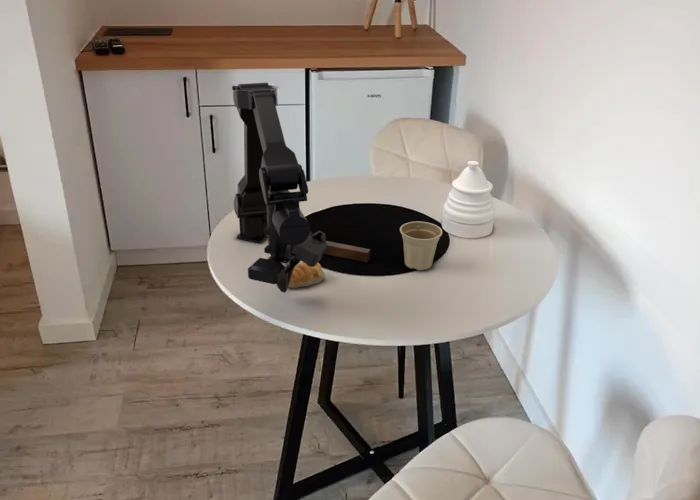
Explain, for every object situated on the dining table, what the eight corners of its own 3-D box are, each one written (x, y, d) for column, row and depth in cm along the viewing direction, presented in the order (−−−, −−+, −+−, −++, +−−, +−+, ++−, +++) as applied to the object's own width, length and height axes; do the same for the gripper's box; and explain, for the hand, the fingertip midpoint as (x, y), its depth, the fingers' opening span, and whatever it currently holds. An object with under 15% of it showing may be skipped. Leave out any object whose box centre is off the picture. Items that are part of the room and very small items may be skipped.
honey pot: (488, 241, 166) (497, 172, 158) (436, 233, 169) (443, 165, 161) (495, 220, 177) (504, 154, 168) (447, 213, 180) (453, 148, 172)
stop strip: (287, 246, 161) (287, 237, 160) (291, 243, 163) (291, 233, 162) (367, 262, 155) (367, 253, 154) (370, 258, 157) (370, 249, 156)
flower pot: (416, 250, 161) (418, 217, 157) (447, 264, 155) (451, 230, 151) (389, 263, 155) (391, 229, 151) (421, 278, 149) (423, 243, 145)
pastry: (291, 294, 142) (290, 278, 140) (273, 281, 147) (272, 265, 145) (327, 280, 148) (327, 265, 146) (308, 268, 152) (308, 253, 150)
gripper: (299, 250, 121) (300, 323, 128) (338, 210, 137) (337, 278, 144) (244, 239, 124) (248, 311, 132) (288, 201, 140) (290, 267, 147)
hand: (284, 291), depth 139 cm, fingers closed
